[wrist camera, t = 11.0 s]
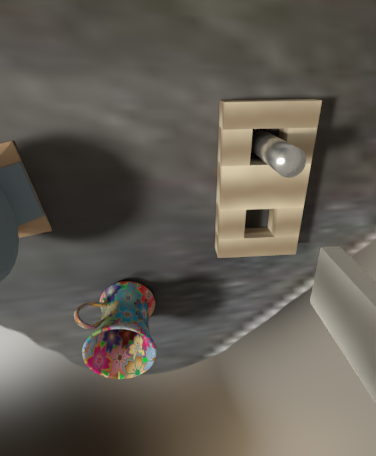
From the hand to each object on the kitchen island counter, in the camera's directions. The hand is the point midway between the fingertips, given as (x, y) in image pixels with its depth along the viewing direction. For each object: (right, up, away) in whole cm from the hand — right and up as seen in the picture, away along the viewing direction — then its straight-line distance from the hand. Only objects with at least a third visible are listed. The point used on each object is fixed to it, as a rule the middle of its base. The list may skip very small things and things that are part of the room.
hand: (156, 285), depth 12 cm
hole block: (+11, +9, +29) cm, 32 cm away
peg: (+11, +13, +26) cm, 31 cm away
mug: (-9, -8, +36) cm, 38 cm away
